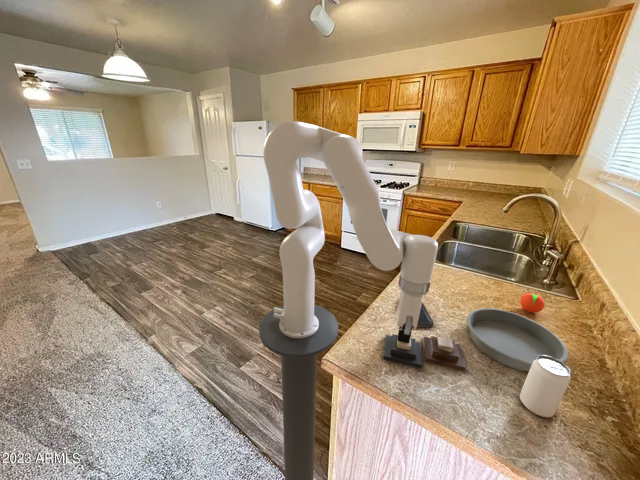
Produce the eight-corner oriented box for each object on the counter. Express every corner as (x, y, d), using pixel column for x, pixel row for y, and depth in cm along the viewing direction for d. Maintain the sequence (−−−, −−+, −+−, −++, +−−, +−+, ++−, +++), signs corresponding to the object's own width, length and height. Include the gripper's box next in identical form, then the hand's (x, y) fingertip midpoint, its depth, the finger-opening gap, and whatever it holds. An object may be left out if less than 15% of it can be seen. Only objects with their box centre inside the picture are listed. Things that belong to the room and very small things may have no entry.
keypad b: (424, 361, 73) (426, 352, 71) (423, 339, 81) (424, 331, 80) (464, 370, 70) (467, 362, 69) (458, 347, 78) (460, 339, 77)
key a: (396, 348, 74) (397, 343, 73) (397, 339, 77) (397, 335, 76) (410, 351, 73) (411, 346, 72) (409, 342, 76) (410, 337, 75)
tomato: (541, 320, 91) (548, 303, 89) (517, 312, 95) (523, 295, 92) (541, 309, 97) (547, 293, 95) (518, 303, 101) (523, 286, 98)
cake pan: (582, 390, 65) (589, 376, 64) (472, 363, 72) (475, 350, 71) (540, 328, 87) (544, 316, 86) (458, 312, 94) (461, 301, 93)
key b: (437, 349, 73) (439, 344, 73) (436, 341, 76) (437, 336, 76) (452, 352, 72) (453, 347, 72) (450, 344, 75) (451, 339, 75)
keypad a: (383, 359, 73) (384, 350, 72) (385, 337, 81) (386, 329, 80) (421, 368, 70) (423, 360, 69) (419, 345, 78) (421, 337, 77)
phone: (420, 298, 100) (434, 324, 86) (419, 301, 100) (433, 327, 86) (399, 297, 100) (409, 322, 86) (398, 300, 100) (409, 325, 86)
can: (513, 391, 64) (528, 352, 60) (541, 394, 64) (558, 355, 60) (530, 416, 58) (548, 375, 54) (561, 420, 58) (582, 379, 54)
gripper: (399, 268, 75) (391, 321, 82) (398, 295, 62) (387, 356, 68) (427, 272, 73) (416, 326, 80) (432, 301, 60) (418, 363, 66)
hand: (403, 340), depth 74 cm, fingers closed
